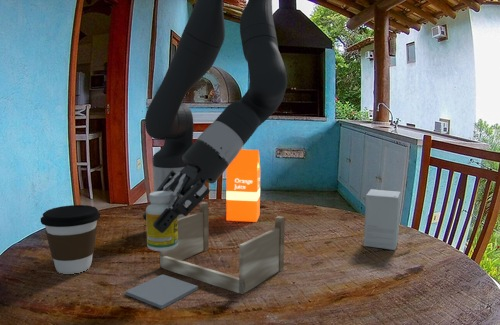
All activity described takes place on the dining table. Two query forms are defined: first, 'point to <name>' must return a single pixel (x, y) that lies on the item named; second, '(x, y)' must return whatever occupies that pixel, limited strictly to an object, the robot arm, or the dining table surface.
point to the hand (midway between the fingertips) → (152, 224)
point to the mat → (161, 291)
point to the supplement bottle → (153, 211)
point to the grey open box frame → (250, 254)
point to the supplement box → (382, 219)
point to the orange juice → (243, 187)
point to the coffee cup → (71, 236)
